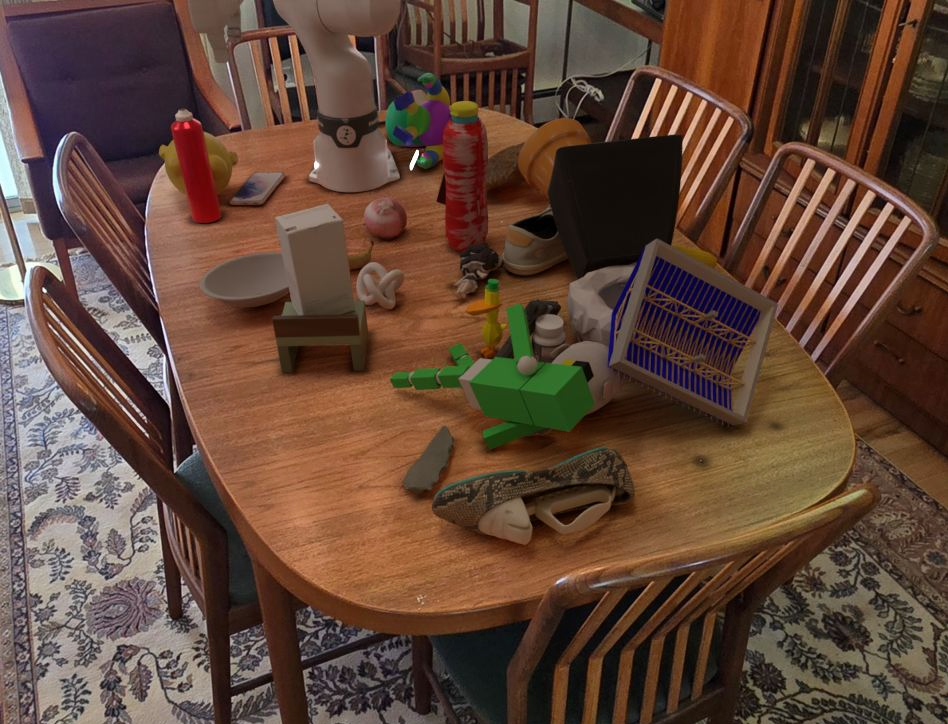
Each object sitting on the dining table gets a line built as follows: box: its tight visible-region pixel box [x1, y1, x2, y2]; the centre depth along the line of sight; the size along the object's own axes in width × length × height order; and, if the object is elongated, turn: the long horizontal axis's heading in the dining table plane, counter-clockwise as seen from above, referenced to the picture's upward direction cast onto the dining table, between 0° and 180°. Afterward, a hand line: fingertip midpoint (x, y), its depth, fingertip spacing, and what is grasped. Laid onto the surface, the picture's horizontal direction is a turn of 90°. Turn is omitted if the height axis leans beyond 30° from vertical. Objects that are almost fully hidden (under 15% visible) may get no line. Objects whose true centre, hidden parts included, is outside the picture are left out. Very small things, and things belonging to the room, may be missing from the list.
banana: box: [348, 239, 375, 271], centre depth 148 cm, size 10×2×4 cm, turn 128°
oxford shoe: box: [501, 204, 569, 276], centre depth 152 cm, size 11×29×8 cm, turn 137°
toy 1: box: [389, 302, 595, 451], centre depth 113 cm, size 14×15×30 cm
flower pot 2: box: [547, 133, 684, 280], centre depth 135 cm, size 19×19×17 cm
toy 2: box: [527, 341, 624, 437], centre depth 114 cm, size 10×15×10 cm, turn 132°
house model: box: [607, 239, 779, 427], centre depth 115 cm, size 19×20×7 cm
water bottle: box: [435, 100, 489, 253], centre depth 148 cm, size 12×8×25 cm, turn 36°
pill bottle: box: [531, 314, 566, 364], centre depth 123 cm, size 5×5×8 cm
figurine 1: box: [384, 72, 452, 170], centre depth 181 cm, size 18×14×20 cm
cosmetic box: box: [274, 203, 355, 315], centre depth 122 cm, size 8×6×15 cm
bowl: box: [566, 262, 637, 348], centre depth 127 cm, size 21×20×10 cm
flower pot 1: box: [518, 117, 592, 198], centre depth 162 cm, size 14×14×13 cm
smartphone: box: [229, 171, 286, 206], centre depth 174 cm, size 7×1×15 cm
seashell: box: [486, 141, 527, 193], centre depth 173 cm, size 19×9×15 cm
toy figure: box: [465, 278, 508, 359], centre depth 125 cm, size 7×4×12 cm, turn 120°
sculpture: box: [158, 131, 239, 196], centre depth 168 cm, size 15×13×13 cm
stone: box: [402, 425, 455, 495], centre depth 109 cm, size 13×2×5 cm
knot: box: [355, 261, 405, 310], centre depth 139 cm, size 8×8×6 cm
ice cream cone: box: [408, 89, 428, 105], centre depth 205 cm, size 5×5×15 cm
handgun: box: [493, 298, 562, 359], centre depth 127 cm, size 19×2×12 cm
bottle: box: [170, 108, 222, 224], centre depth 158 cm, size 5×5×20 cm
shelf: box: [271, 300, 369, 373], centre depth 127 cm, size 10×12×9 cm
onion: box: [363, 197, 408, 242], centre depth 157 cm, size 8×8×7 cm
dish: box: [199, 251, 290, 308], centre depth 139 cm, size 18×14×5 cm
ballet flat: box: [431, 446, 636, 546], centre depth 100 cm, size 8×25×9 cm
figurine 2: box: [452, 242, 504, 300], centre depth 144 cm, size 7×6×15 cm
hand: (229, 51), depth 120 cm, fingers open, 8 cm apart
